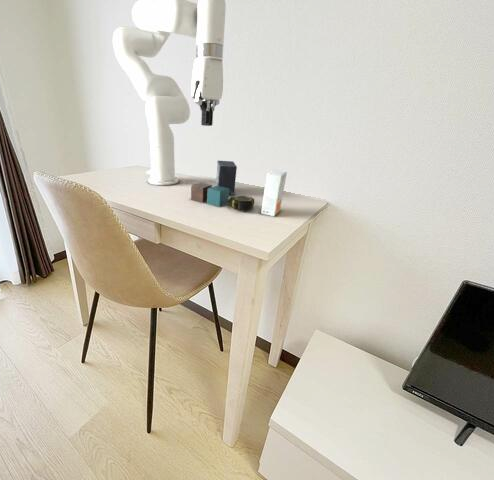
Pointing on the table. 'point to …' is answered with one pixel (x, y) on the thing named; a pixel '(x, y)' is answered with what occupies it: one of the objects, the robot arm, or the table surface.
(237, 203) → the tape measure
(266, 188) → the cosmetic box
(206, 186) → the walnut block
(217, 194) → the teal block
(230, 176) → the small box
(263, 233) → the table surface
